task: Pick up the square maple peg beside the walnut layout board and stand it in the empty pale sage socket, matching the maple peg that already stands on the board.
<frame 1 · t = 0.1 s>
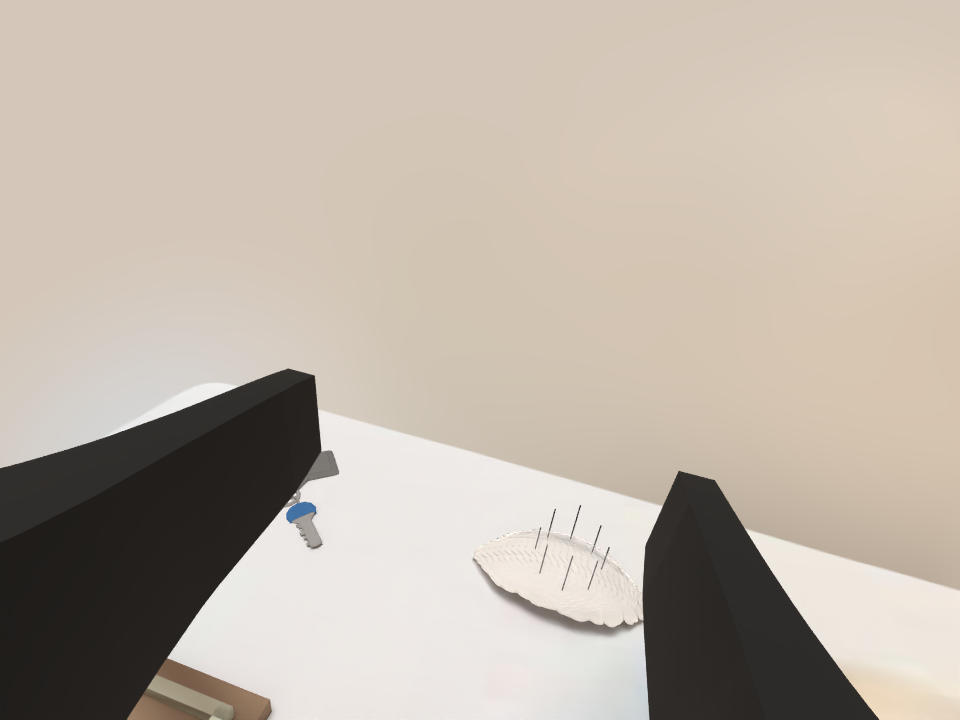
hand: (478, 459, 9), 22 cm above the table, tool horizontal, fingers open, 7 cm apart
key chain: (288, 517, 35), on the table
pincushion: (556, 589, 33), on the table
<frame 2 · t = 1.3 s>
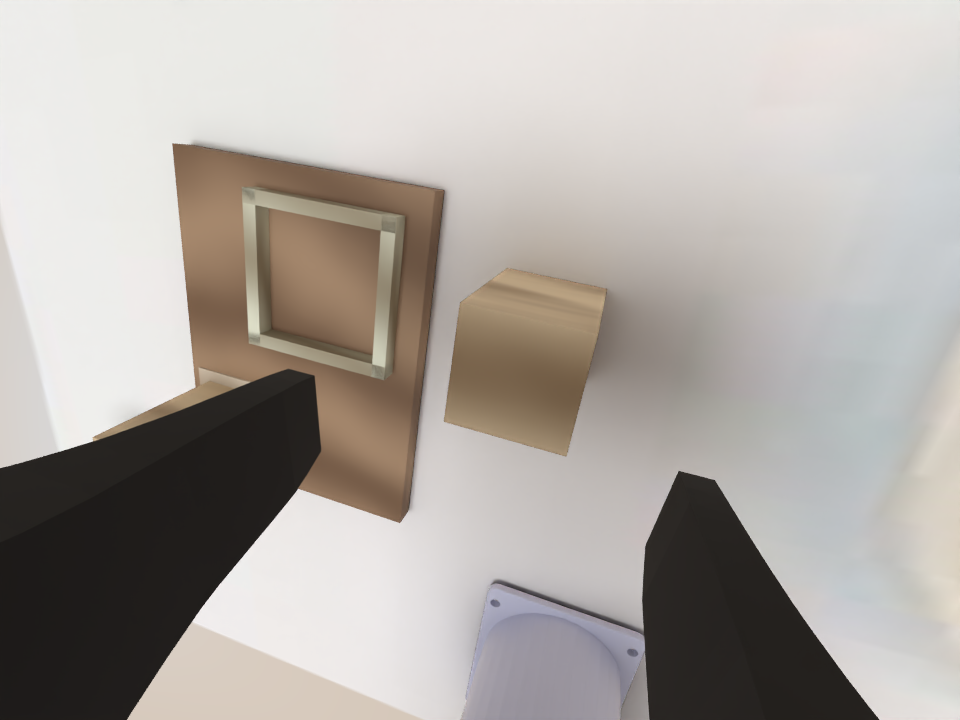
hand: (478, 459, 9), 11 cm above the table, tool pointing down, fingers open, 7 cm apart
maple peg: (545, 325, 20), on the table
layout board: (308, 342, 23), on the table
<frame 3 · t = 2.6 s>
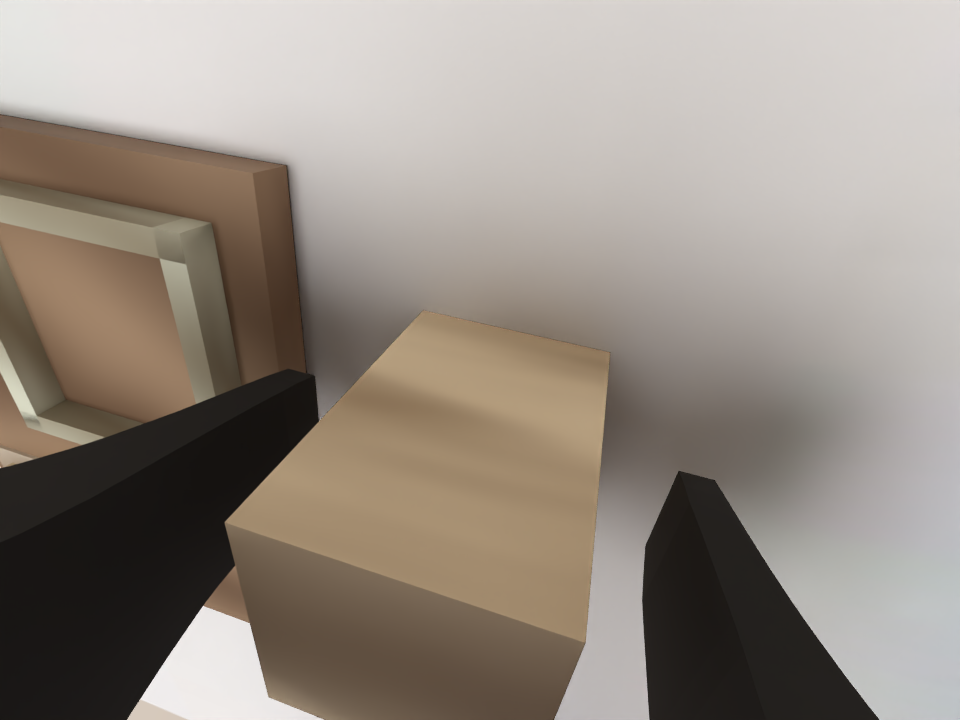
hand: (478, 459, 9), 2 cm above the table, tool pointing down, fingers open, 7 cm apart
maple peg: (501, 406, 11), on the table
layout board: (139, 410, 15), on the table
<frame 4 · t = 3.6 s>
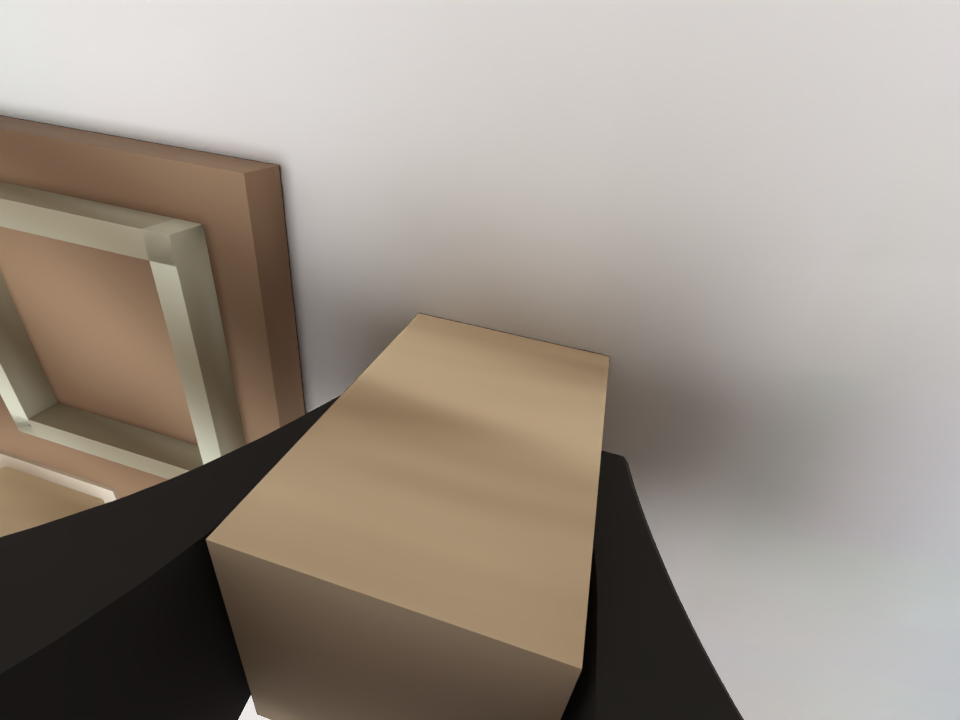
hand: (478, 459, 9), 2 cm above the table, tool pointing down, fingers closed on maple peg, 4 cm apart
maple peg: (498, 412, 11), on the table, touching gripper
layout board: (133, 413, 15), on the table
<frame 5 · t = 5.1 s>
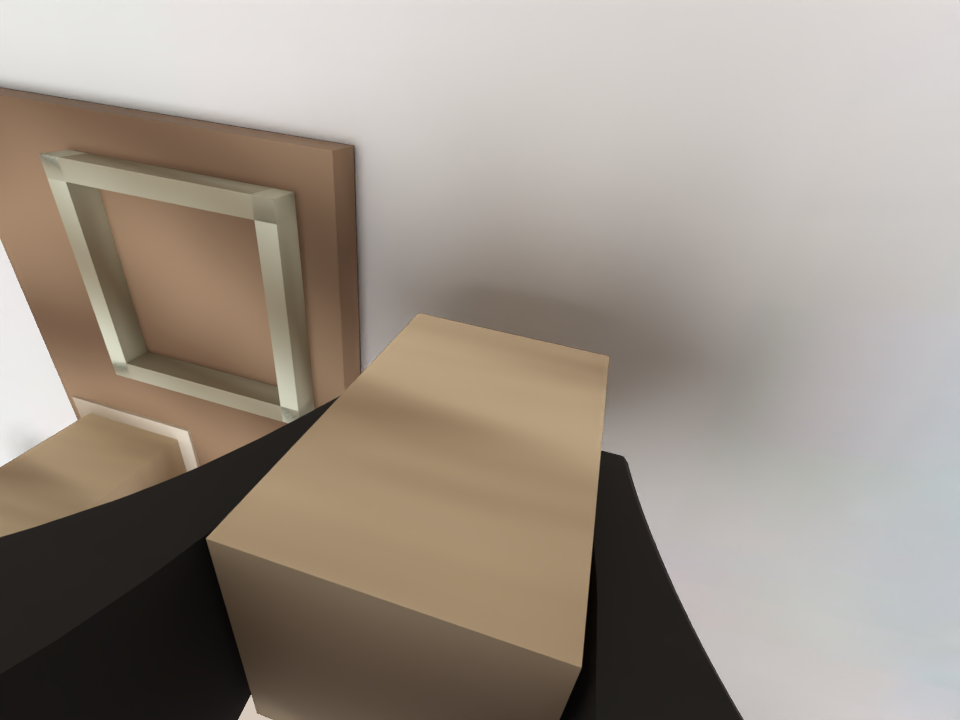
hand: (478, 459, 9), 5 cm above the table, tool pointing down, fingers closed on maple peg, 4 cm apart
maple peg: (498, 411, 11), point 3 cm above the table, touching gripper
layout board: (206, 363, 17), on the table
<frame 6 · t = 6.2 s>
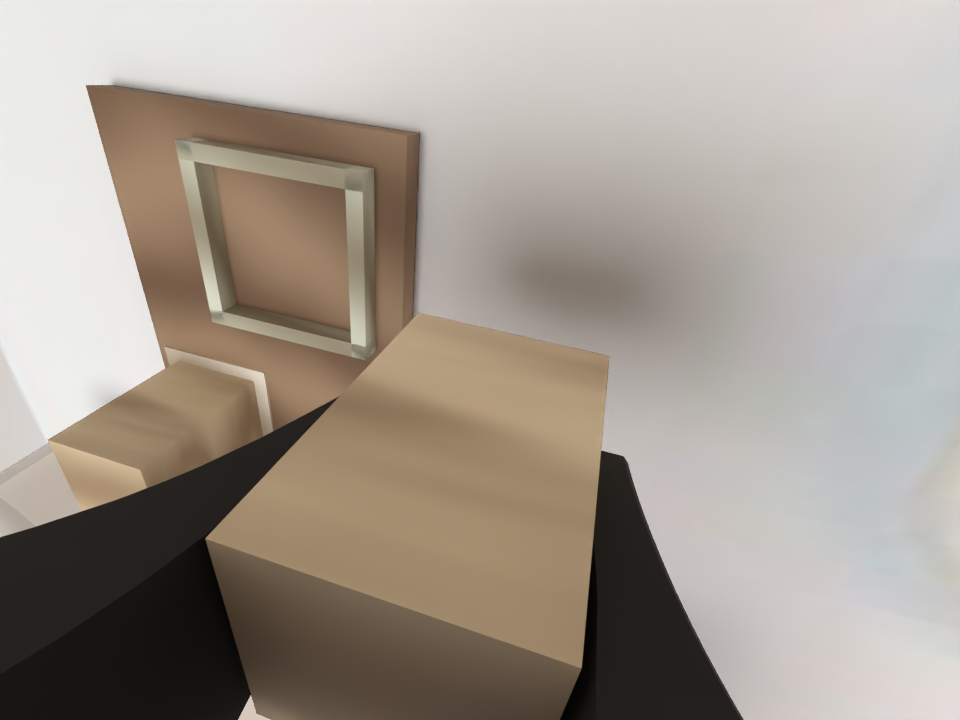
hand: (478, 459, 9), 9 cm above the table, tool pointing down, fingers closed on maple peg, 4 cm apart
eye dropper bottle: (151, 439, 28), on the table
maple peg: (498, 411, 11), point 7 cm above the table, touching gripper
layout board: (281, 316, 21), on the table
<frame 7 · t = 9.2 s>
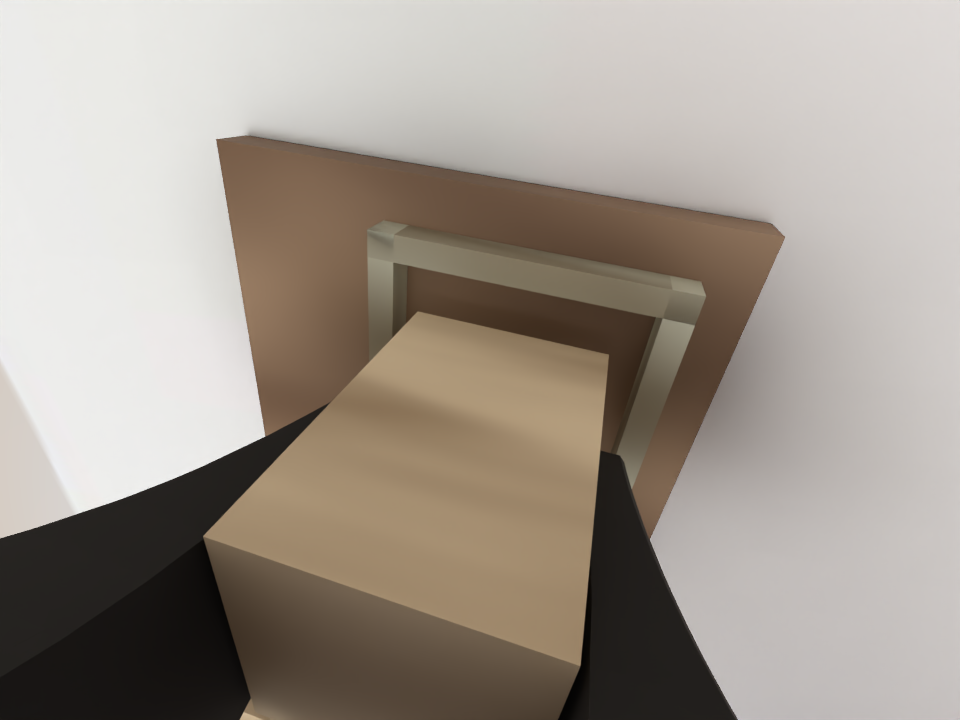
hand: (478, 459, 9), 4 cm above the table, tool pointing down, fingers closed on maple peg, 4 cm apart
maple peg: (497, 410, 11), point 2 cm above the table, touching gripper
layout board: (454, 447, 15), on the table
when the fingers open (4 cm above the table, at t = 9.3 s): maple peg drops 1 cm, resting on layout board.
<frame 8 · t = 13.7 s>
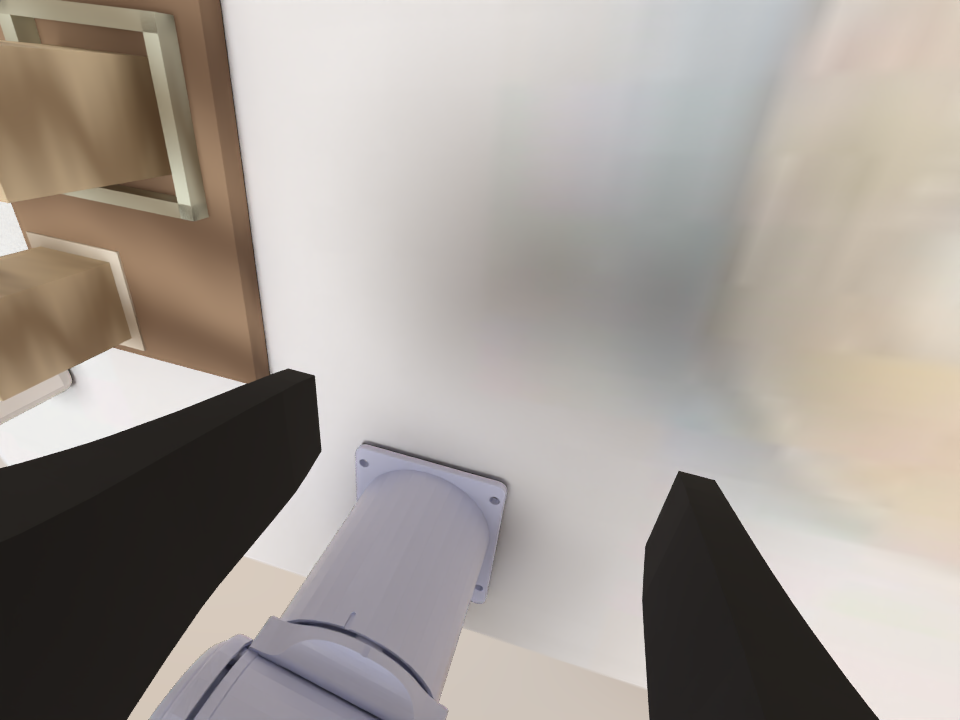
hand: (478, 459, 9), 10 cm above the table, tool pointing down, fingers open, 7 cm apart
eye dropper bottle: (40, 347, 29), on the table
maple peg: (117, 112, 19), point 1 cm above the table, touching layout board
layout board: (131, 195, 21), on the table
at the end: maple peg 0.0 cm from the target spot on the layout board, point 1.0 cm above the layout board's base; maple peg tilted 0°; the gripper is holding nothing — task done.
